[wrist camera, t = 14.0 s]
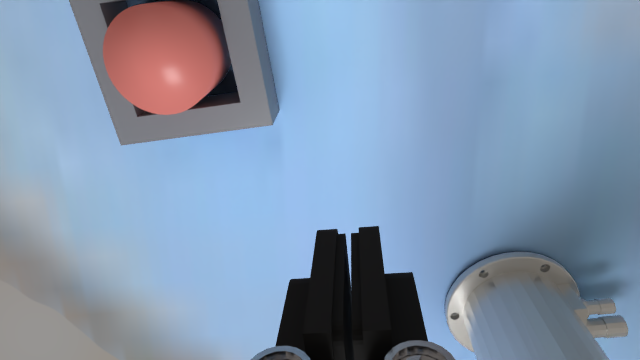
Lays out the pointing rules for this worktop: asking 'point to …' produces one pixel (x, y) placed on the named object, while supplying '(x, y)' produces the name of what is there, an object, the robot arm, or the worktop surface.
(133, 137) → the dome housing
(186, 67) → the dome button
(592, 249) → the worktop surface
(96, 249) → the worktop surface
